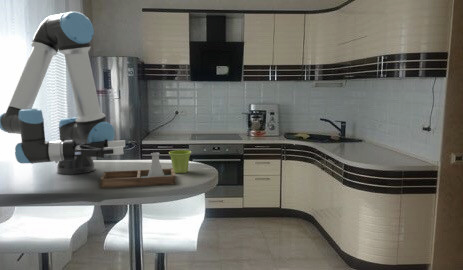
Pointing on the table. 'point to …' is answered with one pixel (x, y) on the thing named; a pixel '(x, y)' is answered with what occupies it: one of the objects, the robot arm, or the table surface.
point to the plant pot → (180, 160)
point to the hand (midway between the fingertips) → (124, 146)
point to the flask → (155, 166)
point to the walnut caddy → (135, 178)
